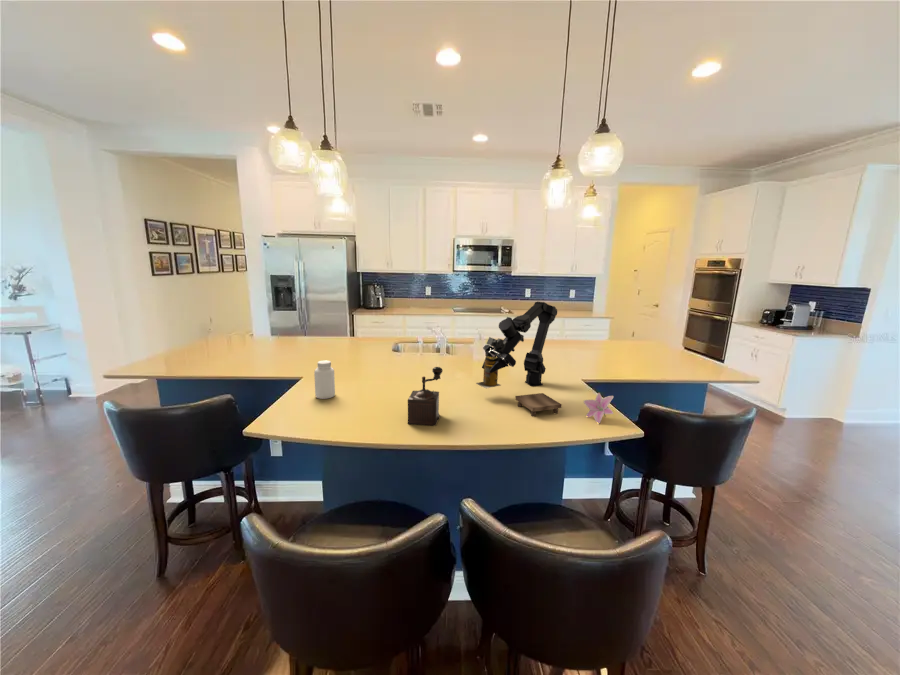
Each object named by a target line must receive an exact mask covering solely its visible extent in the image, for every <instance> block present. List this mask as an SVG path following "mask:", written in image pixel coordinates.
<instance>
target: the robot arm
mask: <svg viewBox="0 0 900 675" xmlns="http://www.w3.org/2000/svg"><path fill="white" fill-rule="evenodd" d="M557 314H558V309H557V308H556V305H555V306H554V305H550V304H548V303H546V302H544V301H535V302H534V304H533V306H531V307H530V308H529V309H528V310H526V311H525V313H523V314H521V315H518V316H515V317H514V318H512V317H508V316H507V317H506V318H505V319H503V320H501V321H500V322H499V323H498V328H499V330H500V331H501V333H502V335H503V336H504V338H503V339H502V338H497V339H496V338H493V337H491V336H489V337H488V339H487V342H486V344H485V345H484V346H483V347H482V349H483V350H484V352H485V358H486V357H488V356H494V357H497V361H496V362H495V364H494V365H493V366H492V368H491V369H490V371H489V372H490V373H492V372H494V371H497V370H498V371H499V370H502V369H503V368H506V367H508V368H509V366H510V367H512V368H514V367H515V365H516V364H517V361H516V359H515V358H514V357H513V356H512V355H511V354H510V353H511V352H515V347H516V346H517V345H518V344H519V343H520V342H522V343H524V340H525V338H524V337H525V336H524V335H523V334H521V333H527V332H528V331H529V330H530V328H531V327H532V325H531V324H532V322H533V321H535V320H536V318H537V317H538V318H537V319H538V322H539V324H538V326H537V330H536V333H535V338H534V340H533V344H532V348H531V350H530V351H529V352H526V354H525V357H524V360H523V367H524V369H523V370H524V371H525V372H527V373H526V375H525V376H526V377H525V380H524V383H526V384H527V385H529V386H530V387H536V386H537V387H539V386H543V385H544V384H543V383H542V376H543V375H544V374H545V373H546V369H547V368H546V367H545V364H544V363H543V362H544V357H543V354H542V352H543V349H544V347H545V342H546V338H547V335H548V332H549V328H550V325H551V324H553V322H554V321H555V319H556V317H557ZM484 363H485V360H484V361H483V364H482V365H481V368H482V369H483V370H484Z"/></svg>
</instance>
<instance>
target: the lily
mask: <svg viewBox="0 0 900 675" xmlns="http://www.w3.org/2000/svg"><path fill="white" fill-rule="evenodd" d="M613 399H614V395H608V396H605V397H602V395H601V392H598V393H597V394H596V396H595V399H584V400H583V403H584V405H585V406H586V407H587V409H588V411H587V413H586V415H585V417H586V416H588V417H587V418H590V417H593V418H594V421H595V422H598V423H600V424H601V422H602V419H603V416H604V417H606V415H614V412H613V410H612V409H611V408H610V407H609V405H610V404H611V401H612V400H613Z"/></svg>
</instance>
